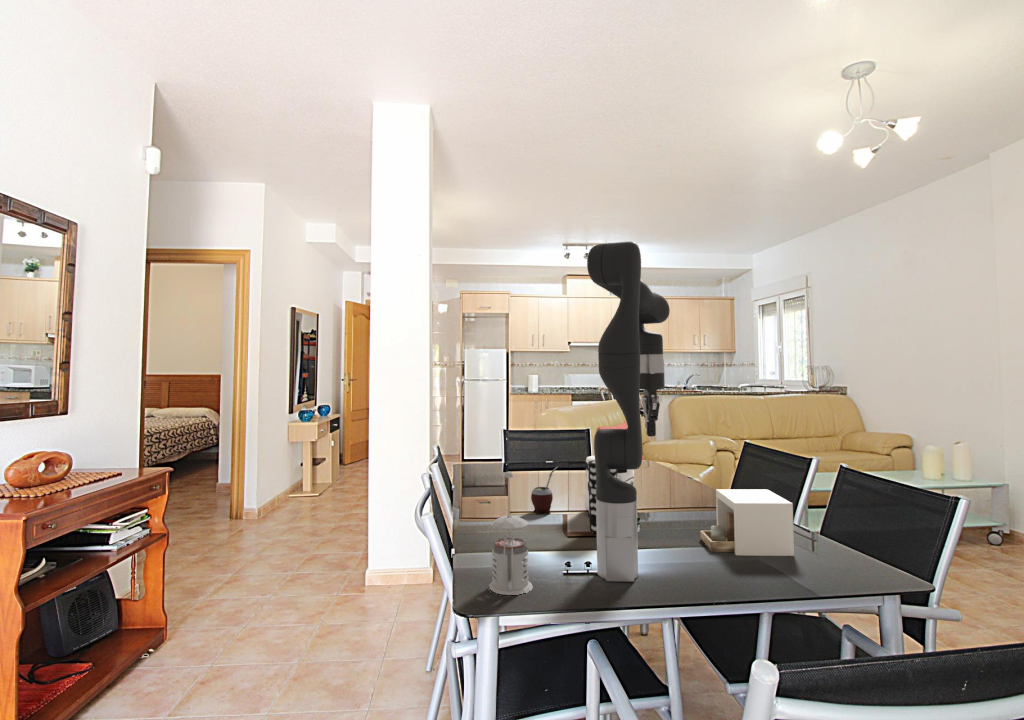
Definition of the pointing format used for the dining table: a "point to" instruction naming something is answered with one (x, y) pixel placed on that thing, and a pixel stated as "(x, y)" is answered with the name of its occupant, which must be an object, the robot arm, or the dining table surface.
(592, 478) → the white-spotted black cylinder
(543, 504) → the mate gourd
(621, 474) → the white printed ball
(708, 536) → the tray
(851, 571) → the dining table surface
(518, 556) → the french press
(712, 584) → the dining table surface
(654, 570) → the dining table surface
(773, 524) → the white open block
